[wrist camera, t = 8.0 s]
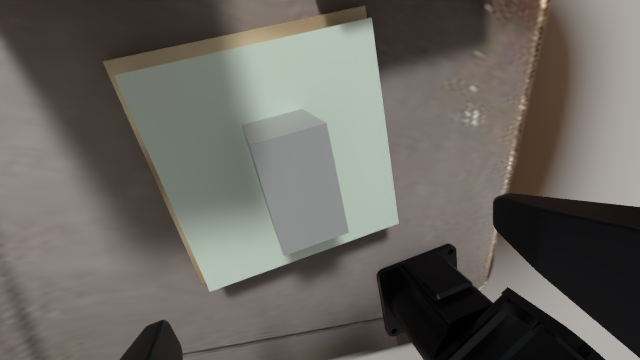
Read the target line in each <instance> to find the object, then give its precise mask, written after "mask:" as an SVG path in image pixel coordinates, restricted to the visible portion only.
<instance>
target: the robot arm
mask: <svg viewBox="0 0 640 360" xmlns="http://www.w3.org/2000/svg"><path fill="white" fill-rule="evenodd" d="M493 225H494V227H495V229H496V230H497V232H498V233H499V234H500V235H501V236H502V237H503V238H504V239H505V240H506V241H507V242H508V243H509V244H510V245H511V246H512V247H513V248H514V249H515V250H516V251H517V252H518V253H519V254H520V255H521V256H522V257H523V258H524V259H525V260H526V261H527V262H528V263H529V264H530V265H531V266H532V267H534V269H535V270H536V271H538V272H539V273H540V274H541V275H542V276H543V277H544V278H546V279H547V280H548V281H549V282H550V283H551V284H553V285H554V286H555V287H556V288H558V289H559V290H560V291H561V292H562V293H563V294H564V295H566V296H567V297H568V298H569V299H570V300H572V301H573V302H574V303H575V304H576V305H578V306H579V307H580V308H581V309H582V310H583V311H585V312H586V313H587V314H588V315H589V316H591V317H592V318H593V319H594V320H596V321H597V322H598V323H599V324H600V325H601V326H602V327H604V328H605V329H606V330H607V331H608V332H610V333H611V334H612V335H613V336H614V337H615V338H617V339H618V340H619V341H620V342H621V343H623V344H624V345H625V346H626V347H628V349H630V350H631V351H632V352H633V353H634V354H636V355H637V356H638V357H639V358H640V207H633V206H624V205H615V204H606V203H596V202H588V201H578V200H569V199H559V198H551V197H542V196H532V195H523V194H514V193H506V194H503V195H501V196H498V197H496V198H495V199H494V201H493ZM384 275H385V276H384ZM383 276H384V277H383ZM377 279H378V285H379V290H380V296H381V302H382V308H383V314H384V320H385V325H386V330H387V332H388V334H389V335H390V336H395V335H398V334H400V333H402V332H405V333H406V335H407V336H408V338H409V339H410V340H411V342H412V343H413V345H414V346H415V348H416V349H417V350H418V352H419V353H420V355H421V356H422V358H423V359H424V360H605V359H604V358H603V357H602V356H601V355H600V354H598V353H597V352H596V351H595V350H594V349H593V348H592V347H590V346H589V345H588V344H587V343H586V342H585V341H583V340H582V339H581V338H580V337H578V336H577V335H576V334H575V333H573V332H572V331H571V330H569V329H568V328H567V327H566V326H564V325H563V324H561V323H560V322H558V321H557V320H555V319H554V318H552V317H551V316H550V315H548V314H547V313H545V312H544V311H542V310H541V309H539V308H537V307H536V306H535V305H533V304H532V303H530V302H529V301H527V300H526V299H524V298H523V297H521V296H520V295H518V294H517V293H516V292H514V291H513V290H511V289H510V288H508V287H507V288H506V289H505V290H504V291H503V292H502V293H501V294H502V295H501V296H500V297H499V298H498V299H497V300H496V301H495V302H494V303H493V302H491V301H490V300H489V299H488V298H487V297H486V296H485V295H484V294H482V293H481V292H480V291H479V290H478V289H477V288H476V287H474V286H473V285H472V282H471V281H470V280H469V279H468V278H466V277H465V276H464V275H463V274H462V273H461V272H459V271H458V270H457V257H456V248H455V247H454V246H453V245H451V244H446V245H443V246H440V247H438V248H435V249H433V250H430V251H427V252H425V253H422V254H420V255H417V256H414V257H412V258H409V259H407V260H404V261H401V262H399V263H396V264H394V265H391V266H388V267H386V268H383V269H381V270H380V271H379V272H378V274H377ZM120 360H183V355H182V348H181V345H180V343H179V341H178V339H177V337H176V335H175V333H174V331H173V329H172V328H171V326H170V324H169V322H168V321H167V320H161V321H158V322H155V323H153V324H150V325H148V326H146V327H145V328H144V330H143V331H142V332H141V333H140V335H139V336H138V337H137V338H136V340H135V341H134V342H133V343H132V345H131V346H130V347H129V348H128V350H127V351H126V352H125V353H124V355H123V356H122V357H121V358H120Z"/></svg>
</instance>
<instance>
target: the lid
mask: <svg viewBox="0 0 640 360" xmlns="http://www.w3.org/2000/svg"><path fill="white" fill-rule="evenodd" d="M114 76H115V79H116V81H117V83H118V85H119V88H120V90H121V92H122V94H123V97H124V99H125V101H126V103H127V106H128V108H129V110H130V112H131V115H132V117H133V119H134V122H135V124H136V126H137V128H138V131H139V133H140V135H141V137H142V140H143V142H144V144H145V146H146V149H147V151H148V153H149V155H150V158H151V160H152V162H153V164H154V167H155V169H156V171H157V174H158V176H159V178H160V180H161V183H162V185H163V187H164V189H165V192H166V194H167V196H168V198H169V201H170V203H171V205H172V207H173V210H174V212H175V214H176V216H177V219H178V221H179V223H180V226H181V228H182V230H183V232H184V235H185V237H186V239H187V241H188V244H189V246H190V248H191V250H192V253H193V255H194V257H195V259H196V262H197V264H198V266H199V269H200V271H201V273H202V275H203V278H204V280H205V282H206V284H207V287H208V289H209V291H210V292H211V291H214V290H216V289H219V288H222V287H225V286H228V285H230V284H233V283H236V282H239V281H241V280H244V279H247V278H250V277H252V276H255V275H258V274H261V273H263V272H266V271H269V270H272V269H275V268H277V267H280V266H283V265H286V264H288V263H291V262H294V261H297V260H299V259H302V258H305V257H308V256H311V255H313V254H316V253H319V252H322V251H324V250H327V249H330V248H333V247H335V246H338V245H341V244H344V243H346V242H349V241H352V240H355V239H358V238H360V237H363V236H366V235H369V234H371V233H374V232H377V231H380V230H382V229H385V228H388V227H391V226H394V225H396V224H399V222H398V214H397V207H396V199H395V192H394V184H393V176H392V169H391V161H390V153H389V146H388V138H387V131H386V123H385V115H384V108H383V100H382V92H381V85H380V77H379V69H378V62H377V54H376V47H375V39H374V31H373V24H372V17H371V18H367V19H363V20H358V21H354V22H349V23H345V24H340V25H336V26H331V27H327V28H322V29H318V30H314V31H309V32H305V33H300V34H296V35H291V36H287V37H282V38H278V39H273V40H269V41H265V42H260V43H256V44H251V45H247V46H242V47H238V48H233V49H229V50H224V51H220V52H216V53H211V54H207V55H202V56H198V57H193V58H189V59H184V60H180V61H175V62H171V63H167V64H162V65H158V66H153V67H149V68H144V69H140V70H135V71H131V72H126V73H122V74H118V75H114Z"/></svg>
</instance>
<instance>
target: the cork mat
mask: <svg viewBox="0 0 640 360" xmlns="http://www.w3.org/2000/svg"><path fill="white" fill-rule="evenodd" d="M363 19H367V15H366V7H365V6H361V7H356V8H351V9H346V10H342V11H337V12H332V13H328V14H323V15H318V16H314V17H309V18H304V19H299V20H295V21H290V22H285V23H281V24H276V25H271V26H267V27H262V28H257V29H252V30H248V31H243V32H238V33H234V34H229V35H224V36H220V37H215V38H210V39H206V40H201V41H196V42H191V43H187V44H182V45H177V46H173V47H168V48H163V49H159V50H154V51H149V52H144V53H140V54H135V55H130V56H126V57H121V58H116V59H112V60H107V61H103V64H104V66H105V68H106V70H107V73H108V75H109V77H110V79H111V82H112V84H113V86H114V88H115V91H116V93H117V95H118V97H119V100H120V102H121V104H122V106H123V109H124V111H125V113H126V115H127V118H128V120H129V122H130V124H131V127H132V129H133V131H134V133H135V136H136V138H137V140H138V142H139V144H140V147H141V149H142V151H143V153H144V156H145V158H146V160H147V162H148V165H149V167H150V169H151V171H152V174H153V176H154V178H155V180H156V183H157V185H158V187H159V189H160V192H161V194H162V196H163V198H164V201H165V203H166V205H167V207H168V210H169V212H170V214H171V216H172V219H173V221H174V223H175V225H176V228H177V230H178V232H179V234H180V236H181V239H182V241H183V243H184V245H185V248H186V250H187V252H188V254H189V257H190V259H191V261H192V263H193V266H194V268H195V270H196V272H197V275H198V277H199V279H200V281H201V284H204V283H206V282H205V280H204V278H203V275H202V273H201V271H200V269H199V266H198V264H197V262H196V259H195V257H194V255H193V253H192V250H191V248H190V246H189V244H188V241H187V239H186V237H185V235H184V232H183V230H182V228H181V226H180V223H179V221H178V219H177V216H176V214H175V212H174V210H173V207H172V205H171V203H170V201H169V198H168V196H167V194H166V192H165V189H164V187H163V185H162V183H161V180H160V178H159V176H158V174H157V171H156V169H155V167H154V164H153V162H152V160H151V158H150V155H149V153H148V151H147V149H146V146H145V144H144V142H143V140H142V137H141V135H140V133H139V131H138V128H137V126H136V124H135V122H134V119H133V117H132V115H131V112H130V110H129V108H128V106H127V103H126V101H125V99H124V97H123V94H122V92H121V90H120V88H119V85H118V83H117V81H116V79H115V76H114V75H118V74H122V73H126V72H131V71H135V70H140V69H144V68H149V67H153V66H158V65H162V64H167V63H171V62H175V61H180V60H184V59H189V58H193V57H198V56H202V55H207V54H211V53H216V52H220V51H224V50H229V49H233V48H238V47H242V46H247V45H251V44H256V43H260V42H265V41H269V40H273V39H278V38H282V37H287V36H291V35H296V34H300V33H305V32H309V31H314V30H318V29H322V28H327V27H331V26H336V25H340V24H345V23H349V22H354V21H358V20H363Z"/></svg>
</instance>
